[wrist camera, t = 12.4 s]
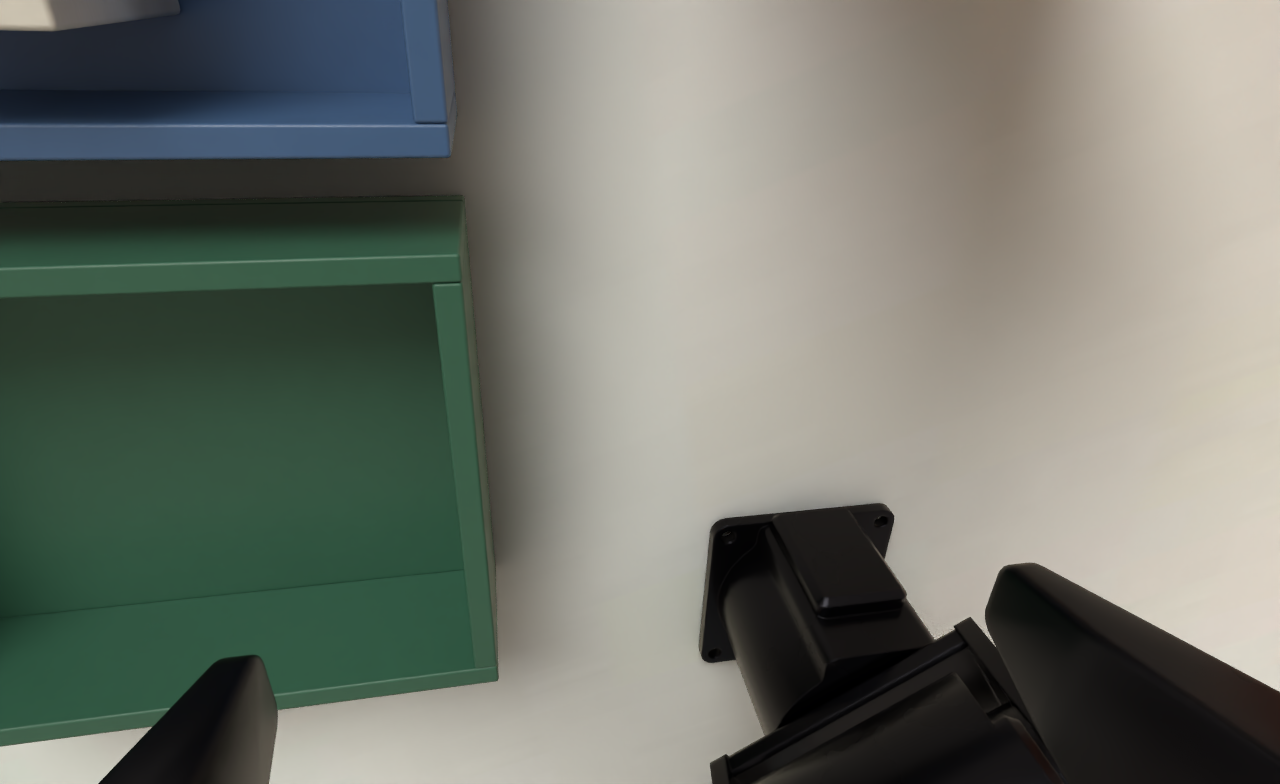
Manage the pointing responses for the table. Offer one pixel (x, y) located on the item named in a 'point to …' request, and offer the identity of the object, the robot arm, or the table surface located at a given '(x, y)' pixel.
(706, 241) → the table surface
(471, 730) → the table surface
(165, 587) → the green tote
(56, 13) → the parcel
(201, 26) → the blue tote
